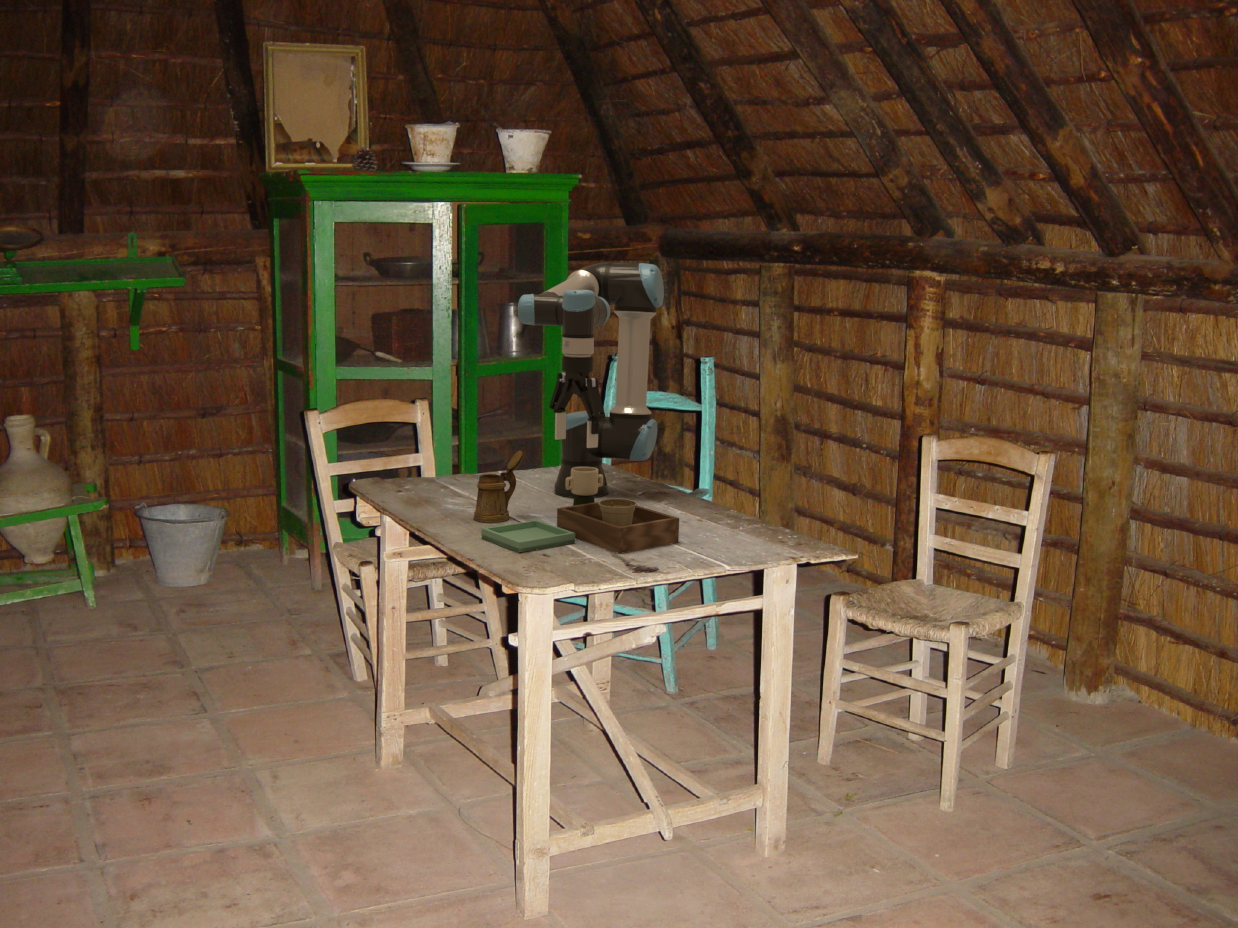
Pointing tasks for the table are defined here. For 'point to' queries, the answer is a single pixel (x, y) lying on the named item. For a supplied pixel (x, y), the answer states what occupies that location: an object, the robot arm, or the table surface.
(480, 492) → the wooden mug
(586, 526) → the walnut crate
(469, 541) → the table surface
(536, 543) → the green tray
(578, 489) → the character mug
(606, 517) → the flower pot
